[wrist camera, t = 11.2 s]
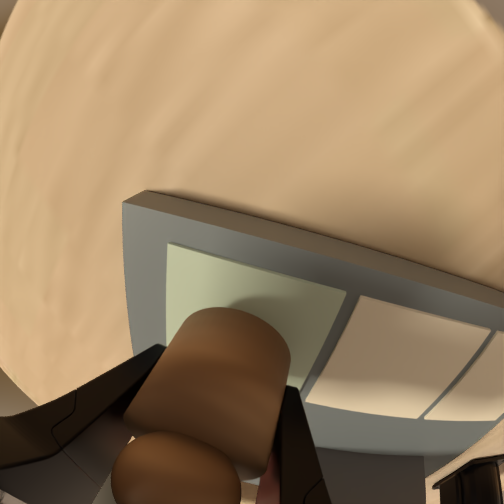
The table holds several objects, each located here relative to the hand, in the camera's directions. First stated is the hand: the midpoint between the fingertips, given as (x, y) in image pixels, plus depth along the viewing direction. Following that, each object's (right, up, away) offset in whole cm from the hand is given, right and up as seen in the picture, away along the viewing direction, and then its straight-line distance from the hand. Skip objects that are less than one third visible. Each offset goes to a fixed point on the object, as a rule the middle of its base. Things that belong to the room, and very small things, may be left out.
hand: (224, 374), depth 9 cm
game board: (+5, -6, +6) cm, 10 cm away
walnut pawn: (0, 0, +1) cm, 1 cm away
